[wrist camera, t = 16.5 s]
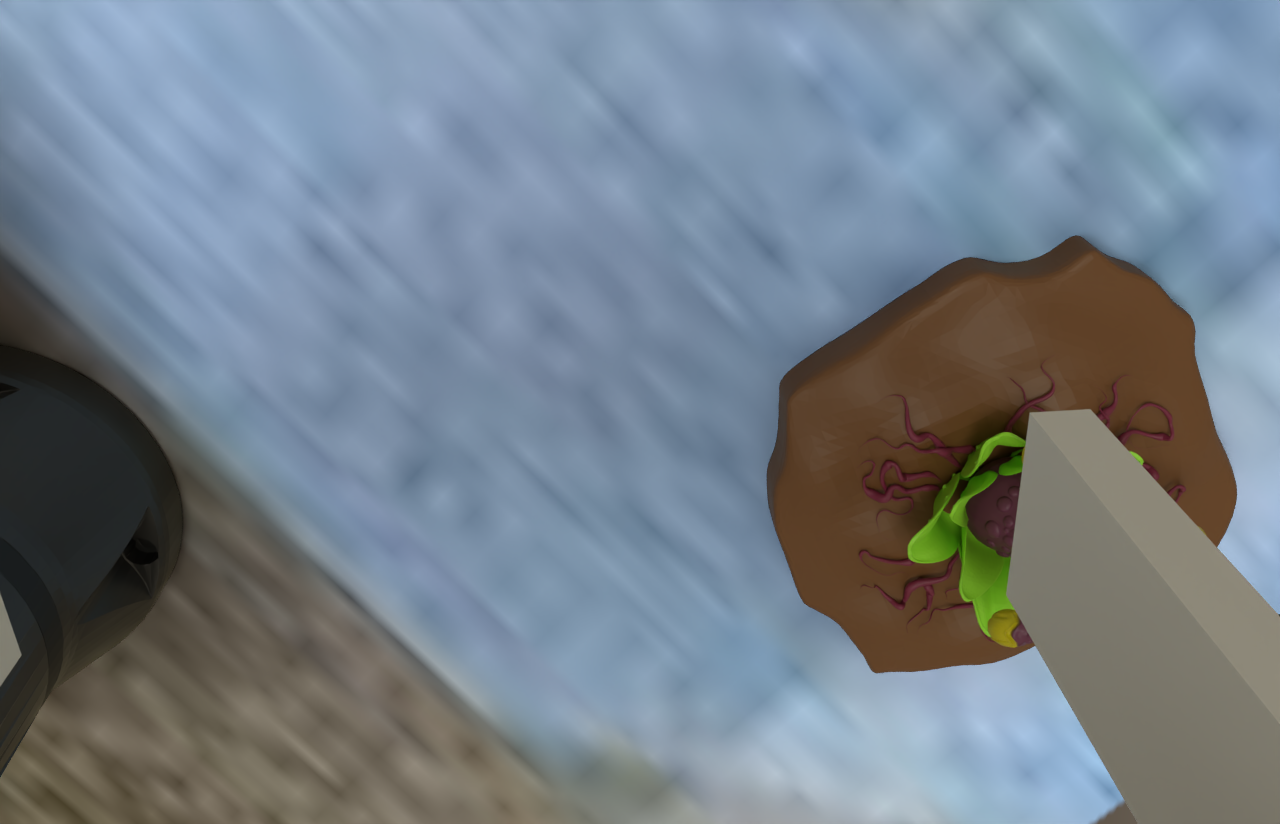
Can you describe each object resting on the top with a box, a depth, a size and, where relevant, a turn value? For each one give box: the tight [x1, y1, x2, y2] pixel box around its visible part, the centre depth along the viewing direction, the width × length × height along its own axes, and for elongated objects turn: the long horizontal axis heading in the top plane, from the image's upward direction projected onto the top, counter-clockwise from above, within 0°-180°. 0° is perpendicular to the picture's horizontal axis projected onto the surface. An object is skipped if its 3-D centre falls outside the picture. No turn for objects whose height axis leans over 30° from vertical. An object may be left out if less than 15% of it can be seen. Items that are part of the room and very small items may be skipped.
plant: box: [767, 235, 1237, 673], centre depth 47 cm, size 20×20×11 cm
